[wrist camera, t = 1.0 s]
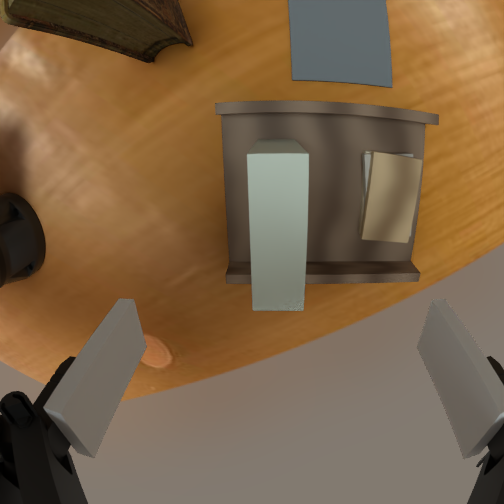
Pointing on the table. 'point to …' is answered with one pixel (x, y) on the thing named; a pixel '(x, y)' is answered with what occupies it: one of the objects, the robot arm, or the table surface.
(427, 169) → the table surface
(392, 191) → the offcut oak
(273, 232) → the upright sage slab
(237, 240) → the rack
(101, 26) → the book
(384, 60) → the mat
